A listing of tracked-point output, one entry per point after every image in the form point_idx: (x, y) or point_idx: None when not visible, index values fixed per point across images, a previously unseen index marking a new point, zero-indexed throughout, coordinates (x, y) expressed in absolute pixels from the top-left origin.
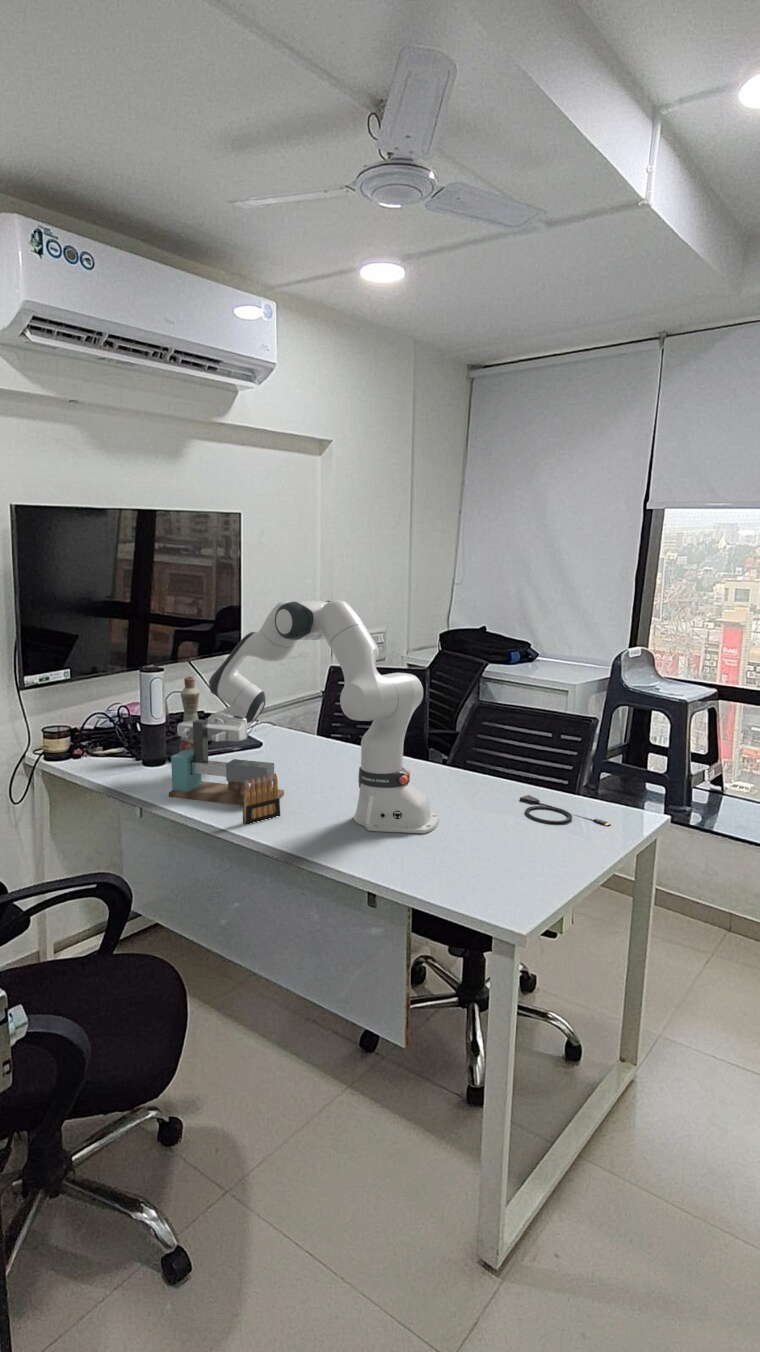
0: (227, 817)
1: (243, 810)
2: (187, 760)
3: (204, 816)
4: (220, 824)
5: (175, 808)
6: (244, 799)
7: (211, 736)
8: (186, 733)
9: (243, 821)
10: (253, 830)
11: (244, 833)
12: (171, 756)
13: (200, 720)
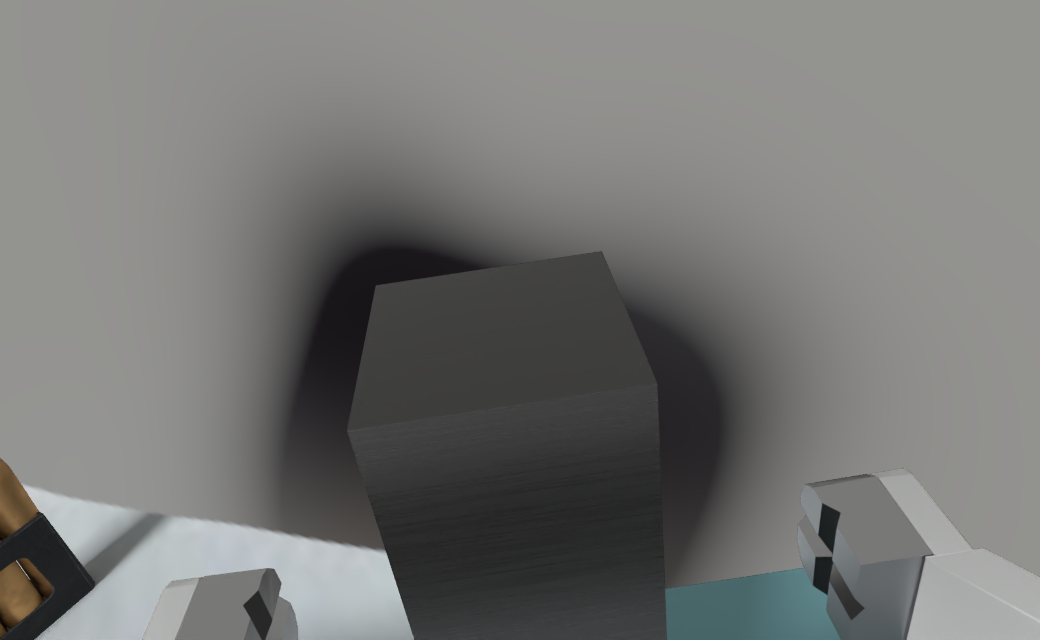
0: None
1: (57, 535)
2: None
3: (335, 569)
4: (215, 527)
5: None
6: (16, 478)
7: (275, 571)
8: (807, 488)
9: (87, 578)
10: None
11: (81, 500)
12: None
13: (514, 353)
